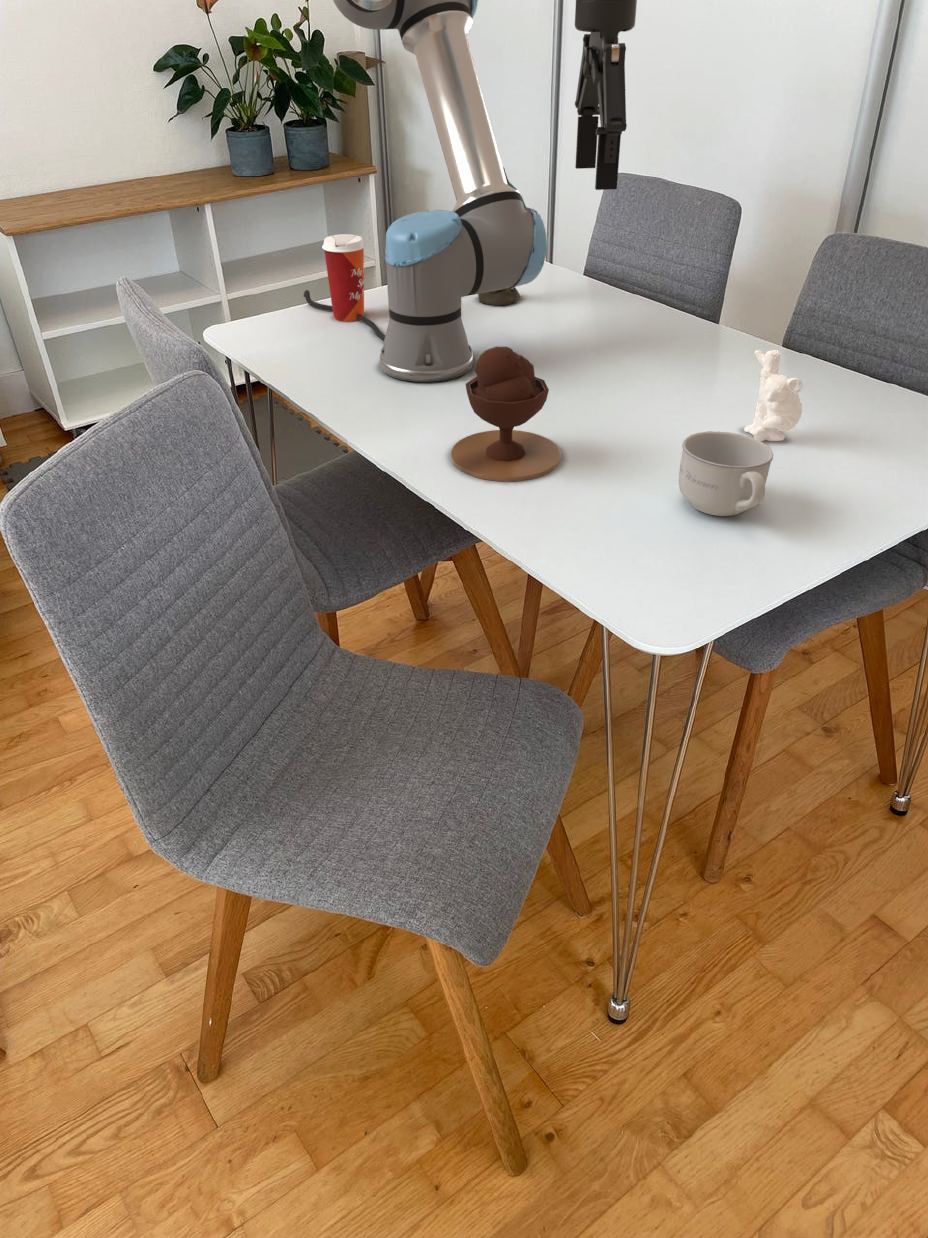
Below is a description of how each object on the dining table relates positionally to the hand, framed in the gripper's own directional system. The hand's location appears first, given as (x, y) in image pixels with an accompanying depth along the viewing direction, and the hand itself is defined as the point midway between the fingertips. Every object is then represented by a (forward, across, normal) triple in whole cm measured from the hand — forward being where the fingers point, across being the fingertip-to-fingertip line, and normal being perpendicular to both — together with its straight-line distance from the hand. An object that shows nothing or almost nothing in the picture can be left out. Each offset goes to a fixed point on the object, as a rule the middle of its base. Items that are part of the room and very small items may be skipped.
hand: (595, 178), depth 136 cm
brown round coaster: (+32, -18, +14) cm, 39 cm away
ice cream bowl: (+31, -18, +14) cm, 39 cm away
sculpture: (+32, +51, +7) cm, 60 cm away
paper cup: (+32, +44, +35) cm, 65 cm away
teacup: (+32, -37, -11) cm, 50 cm away
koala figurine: (+32, -16, -23) cm, 43 cm away
